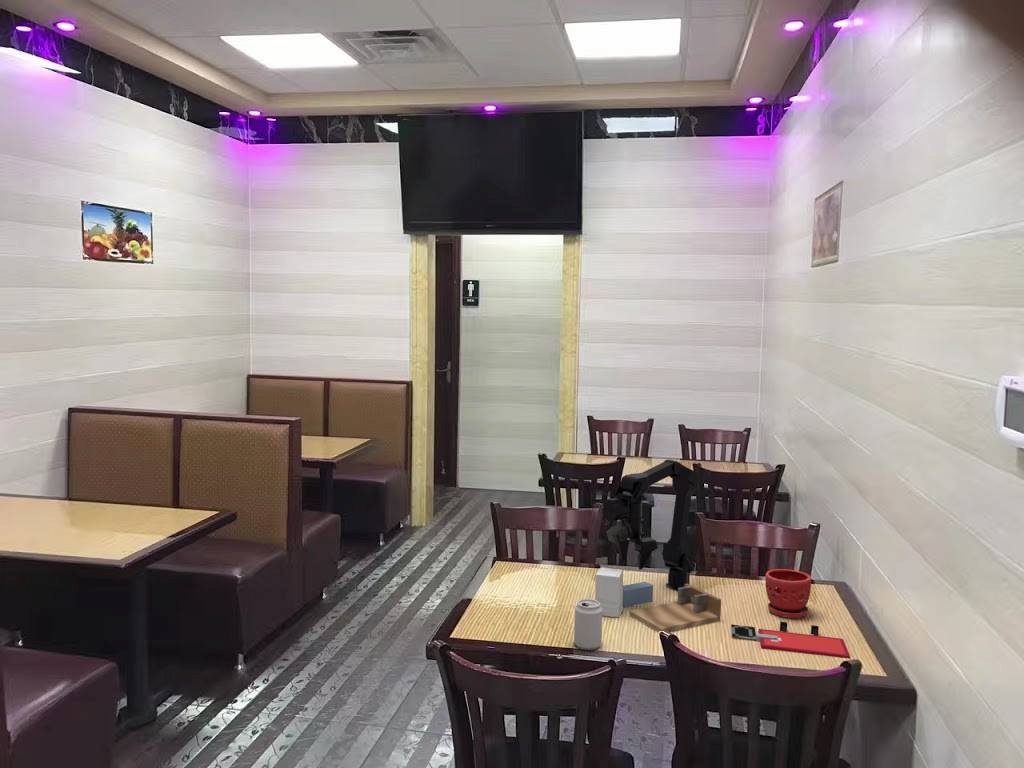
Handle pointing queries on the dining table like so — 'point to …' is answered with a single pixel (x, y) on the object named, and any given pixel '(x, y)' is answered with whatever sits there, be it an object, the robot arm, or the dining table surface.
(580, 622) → the can
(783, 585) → the plant pot
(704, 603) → the shelf
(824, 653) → the red board with handle
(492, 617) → the dining table surface
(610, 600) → the supplement box
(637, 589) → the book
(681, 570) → the robot arm
